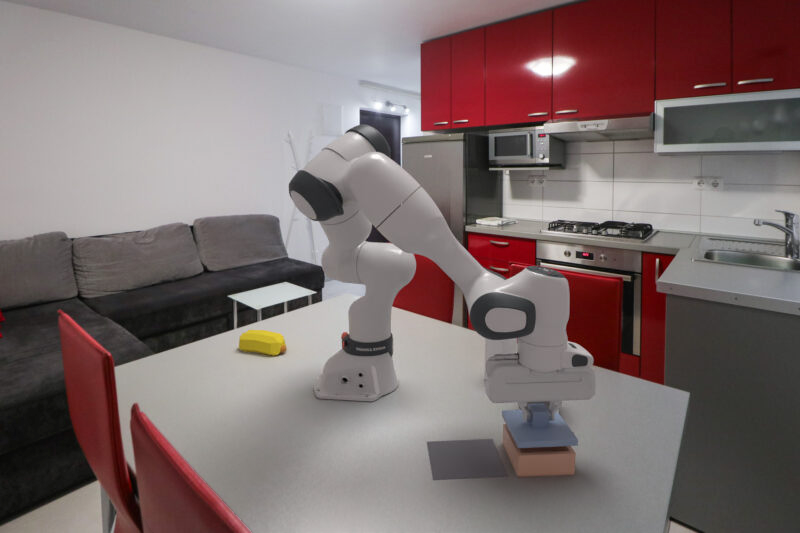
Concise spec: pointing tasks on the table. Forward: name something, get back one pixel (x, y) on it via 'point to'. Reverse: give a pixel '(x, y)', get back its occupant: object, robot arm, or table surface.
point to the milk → (499, 348)
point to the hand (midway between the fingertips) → (537, 419)
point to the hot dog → (262, 342)
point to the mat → (465, 459)
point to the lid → (538, 428)
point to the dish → (539, 458)
